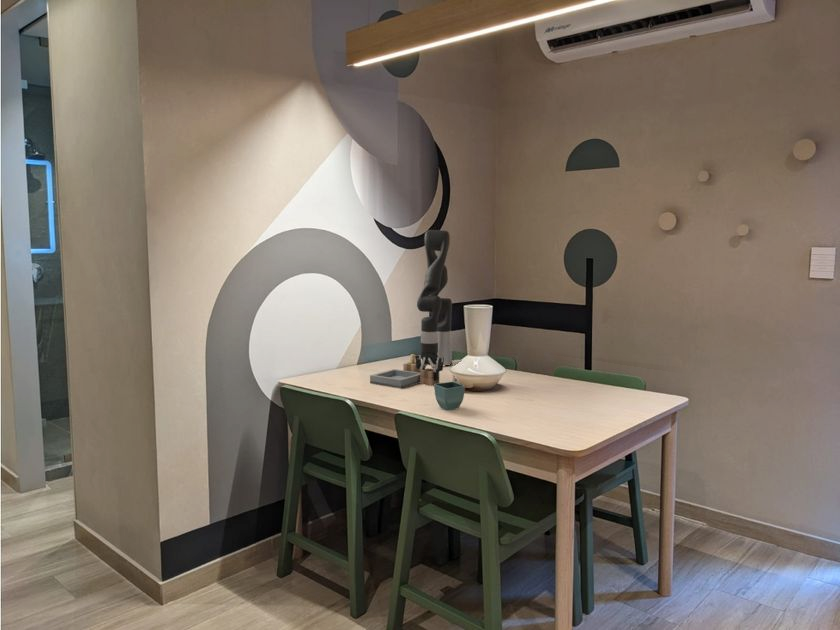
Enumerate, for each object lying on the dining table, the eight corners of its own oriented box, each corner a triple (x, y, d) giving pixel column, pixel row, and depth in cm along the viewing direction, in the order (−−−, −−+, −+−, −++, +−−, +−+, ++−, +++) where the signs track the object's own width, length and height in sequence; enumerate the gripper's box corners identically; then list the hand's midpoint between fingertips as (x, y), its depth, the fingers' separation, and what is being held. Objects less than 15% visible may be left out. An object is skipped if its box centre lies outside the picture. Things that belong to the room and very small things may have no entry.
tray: (394, 376, 311) (393, 369, 311) (424, 381, 302) (424, 373, 301) (370, 383, 298) (370, 375, 297) (401, 388, 288) (401, 380, 288)
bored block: (428, 381, 301) (428, 368, 300) (439, 383, 298) (439, 369, 297) (420, 384, 296) (420, 370, 296) (431, 385, 293) (431, 372, 292)
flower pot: (465, 409, 254) (465, 385, 253) (445, 412, 250) (445, 388, 248) (453, 404, 261) (453, 381, 260) (433, 407, 257) (433, 383, 256)
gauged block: (411, 374, 316) (411, 353, 315) (421, 375, 313) (421, 354, 312) (403, 376, 311) (403, 354, 310) (414, 378, 308) (413, 356, 307)
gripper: (448, 342, 293) (447, 380, 295) (420, 339, 302) (420, 376, 304) (438, 344, 287) (438, 383, 289) (410, 341, 296) (410, 379, 298)
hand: (429, 379), depth 296 cm, fingers closed on bored block, 6 cm apart
